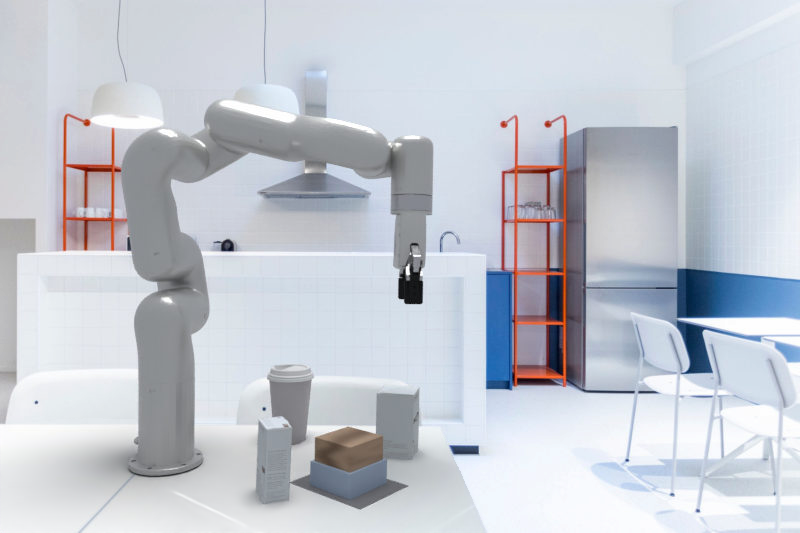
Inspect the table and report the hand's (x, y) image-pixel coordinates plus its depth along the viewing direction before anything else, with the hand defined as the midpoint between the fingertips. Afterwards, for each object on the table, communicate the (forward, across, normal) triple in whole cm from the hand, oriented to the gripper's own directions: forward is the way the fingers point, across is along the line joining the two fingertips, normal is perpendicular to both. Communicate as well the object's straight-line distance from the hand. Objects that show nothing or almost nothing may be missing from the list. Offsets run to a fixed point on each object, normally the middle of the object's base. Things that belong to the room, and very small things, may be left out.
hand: (409, 301), depth 109 cm
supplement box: (+31, -8, -1) cm, 31 cm away
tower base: (+30, +8, -11) cm, 33 cm away
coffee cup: (+31, -17, -22) cm, 42 cm away
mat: (+30, +8, -11) cm, 33 cm away
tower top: (+26, +8, -11) cm, 29 cm away
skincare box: (+31, +12, -23) cm, 40 cm away
